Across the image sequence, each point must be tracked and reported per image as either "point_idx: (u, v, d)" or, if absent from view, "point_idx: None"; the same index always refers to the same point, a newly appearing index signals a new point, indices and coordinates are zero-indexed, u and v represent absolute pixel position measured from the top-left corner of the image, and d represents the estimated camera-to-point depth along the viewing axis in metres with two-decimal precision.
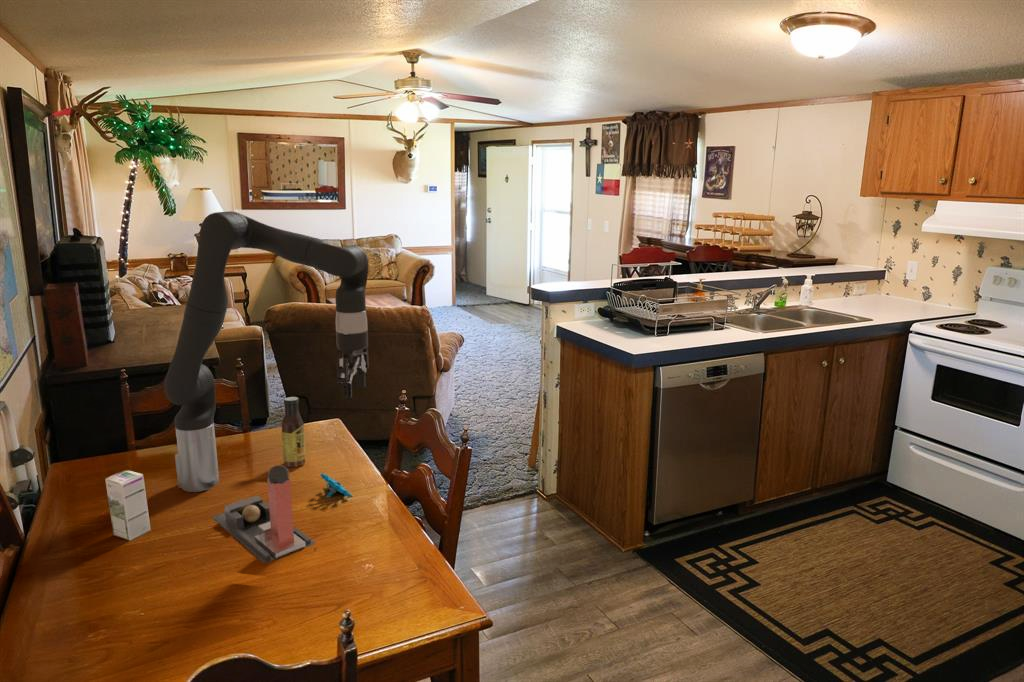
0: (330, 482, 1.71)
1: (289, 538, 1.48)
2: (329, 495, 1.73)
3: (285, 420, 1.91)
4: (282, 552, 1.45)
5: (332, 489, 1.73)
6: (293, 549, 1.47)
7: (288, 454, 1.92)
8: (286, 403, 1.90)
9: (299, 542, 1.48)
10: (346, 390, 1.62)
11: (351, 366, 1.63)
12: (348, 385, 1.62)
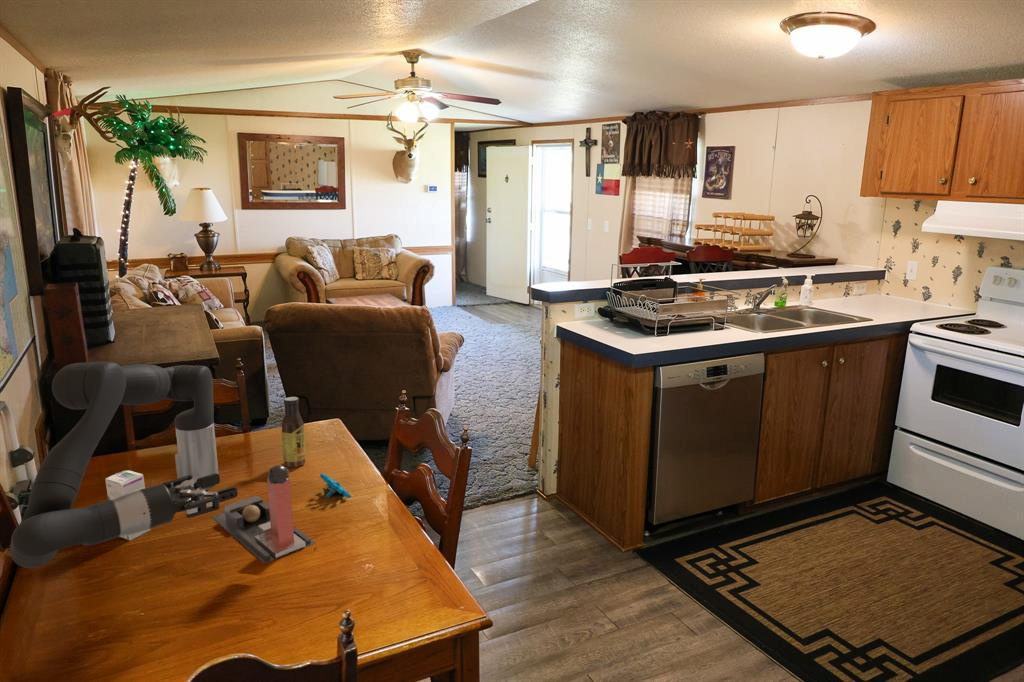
0: (329, 482, 1.70)
1: (289, 538, 1.48)
2: (328, 495, 1.73)
3: (285, 420, 1.91)
4: (282, 552, 1.45)
5: (331, 489, 1.73)
6: (293, 549, 1.47)
7: (288, 454, 1.92)
8: (286, 403, 1.90)
9: (299, 542, 1.48)
10: None
11: None
12: None
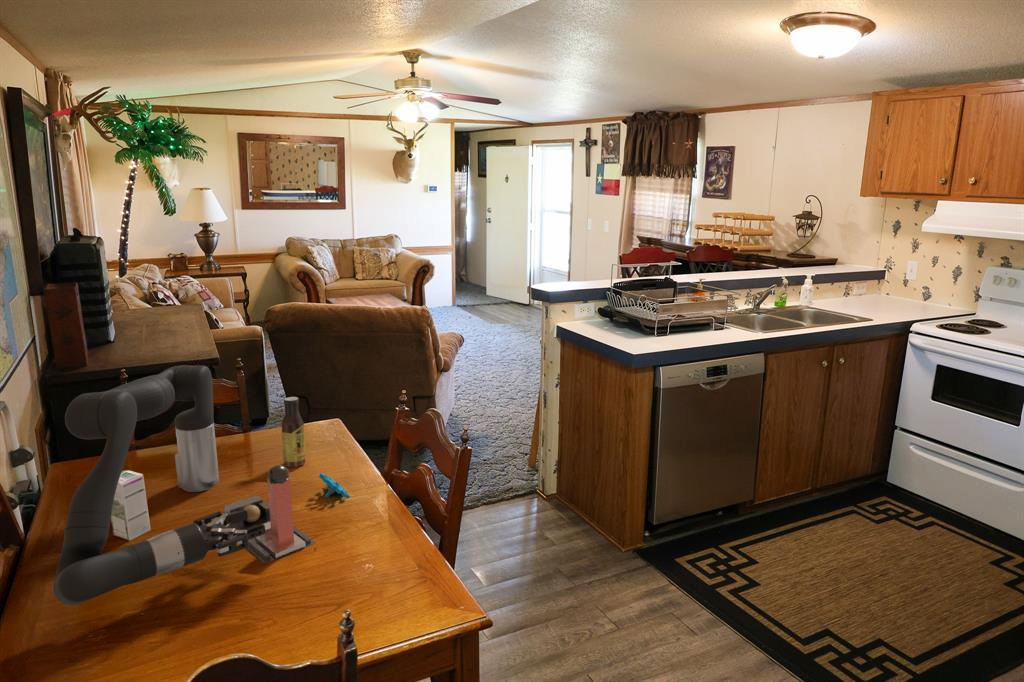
0: (328, 482, 1.70)
1: (289, 538, 1.48)
2: (327, 495, 1.73)
3: (285, 420, 1.91)
4: (282, 552, 1.45)
5: (330, 489, 1.73)
6: (293, 549, 1.47)
7: (288, 454, 1.92)
8: (286, 403, 1.90)
9: (299, 542, 1.48)
10: None
11: None
12: None
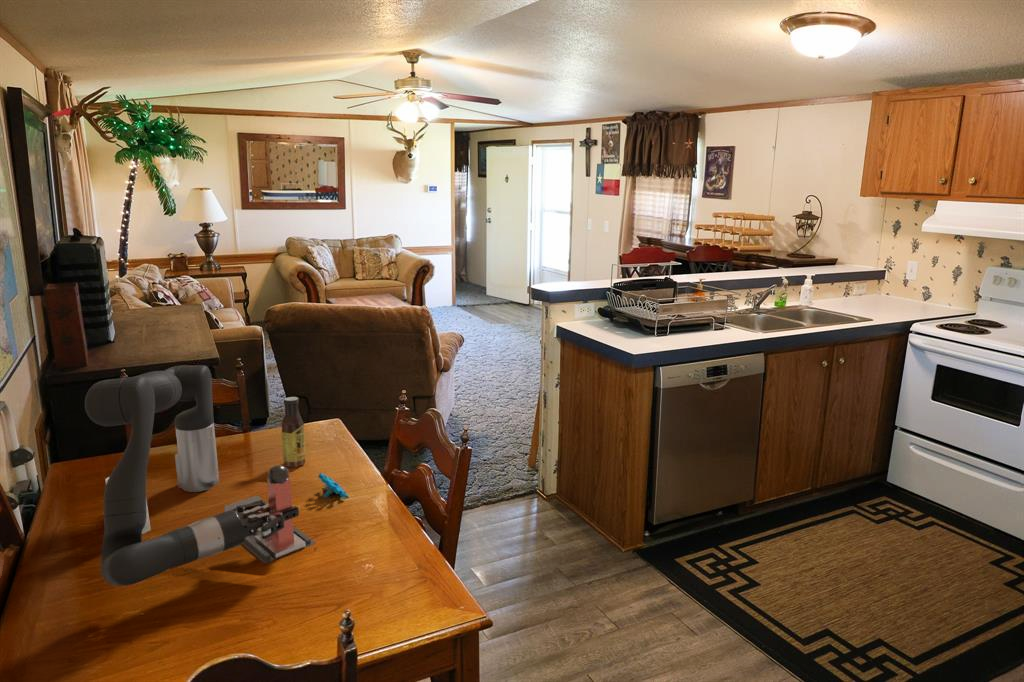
0: (326, 482, 1.70)
1: (289, 538, 1.48)
2: (326, 495, 1.72)
3: (285, 420, 1.91)
4: (282, 552, 1.45)
5: (329, 489, 1.73)
6: (293, 549, 1.47)
7: (288, 454, 1.92)
8: (286, 403, 1.90)
9: (299, 542, 1.48)
10: None
11: None
12: None
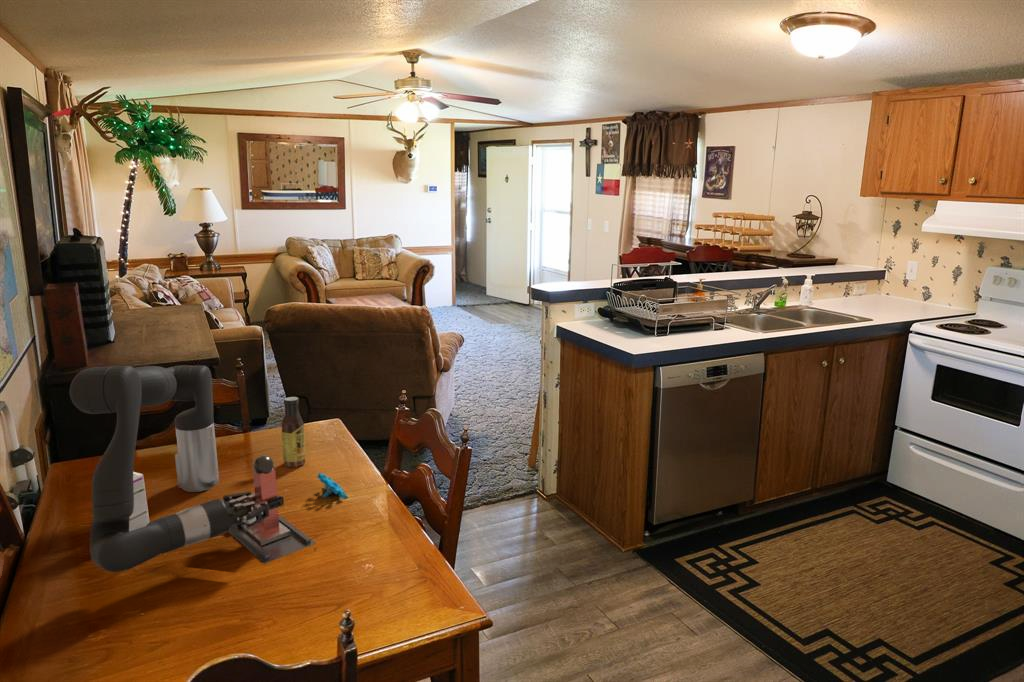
0: (325, 482, 1.70)
1: (274, 527, 1.52)
2: (325, 495, 1.72)
3: (285, 420, 1.91)
4: (267, 540, 1.50)
5: (328, 489, 1.73)
6: (278, 537, 1.51)
7: (288, 454, 1.92)
8: (286, 403, 1.90)
9: (284, 531, 1.53)
10: None
11: None
12: None
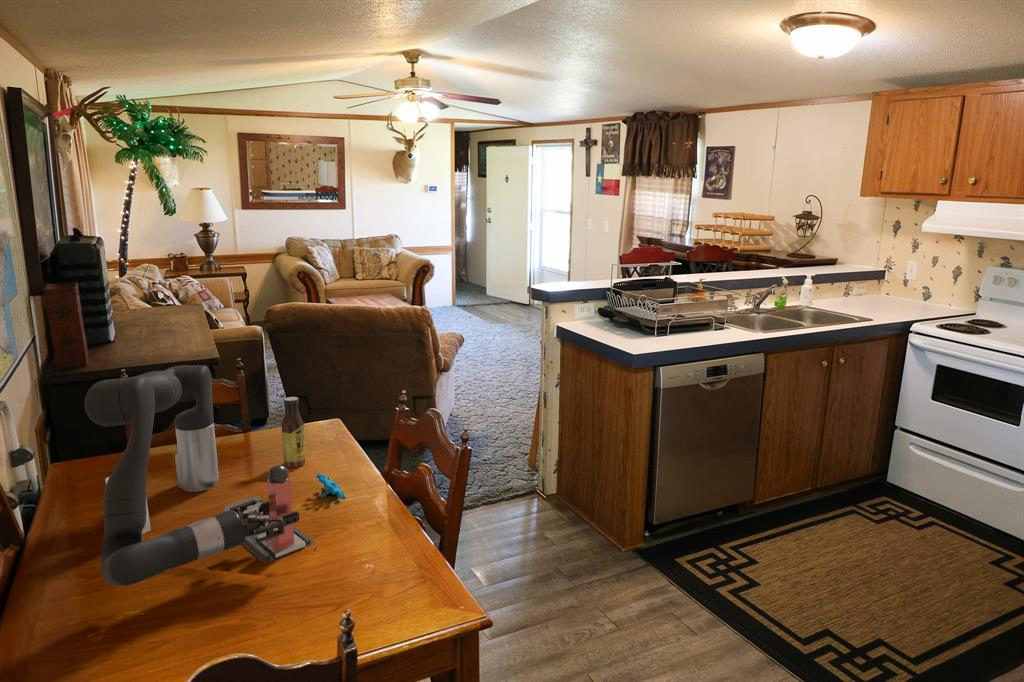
0: (324, 482, 1.70)
1: (289, 538, 1.48)
2: (323, 495, 1.72)
3: (285, 420, 1.91)
4: (282, 552, 1.45)
5: (327, 489, 1.72)
6: (293, 549, 1.47)
7: (288, 454, 1.92)
8: (286, 403, 1.90)
9: (299, 542, 1.48)
10: None
11: None
12: None
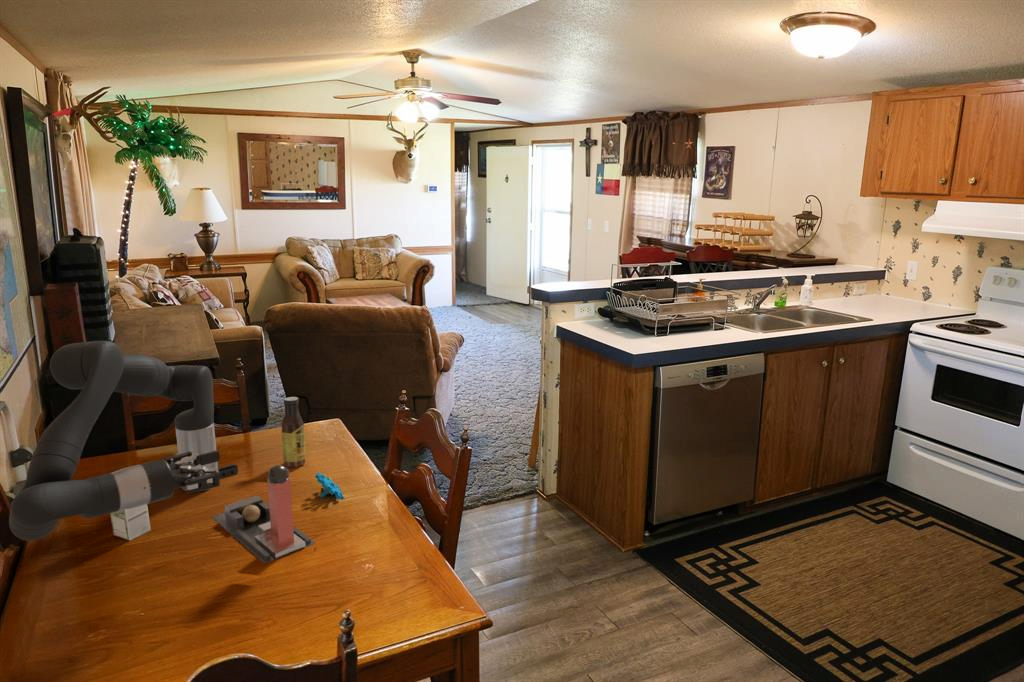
0: (322, 482, 1.70)
1: (289, 538, 1.48)
2: (322, 495, 1.72)
3: (285, 420, 1.91)
4: (282, 552, 1.45)
5: (325, 489, 1.72)
6: (293, 549, 1.47)
7: (288, 454, 1.92)
8: (286, 403, 1.90)
9: (299, 542, 1.48)
10: None
11: None
12: None
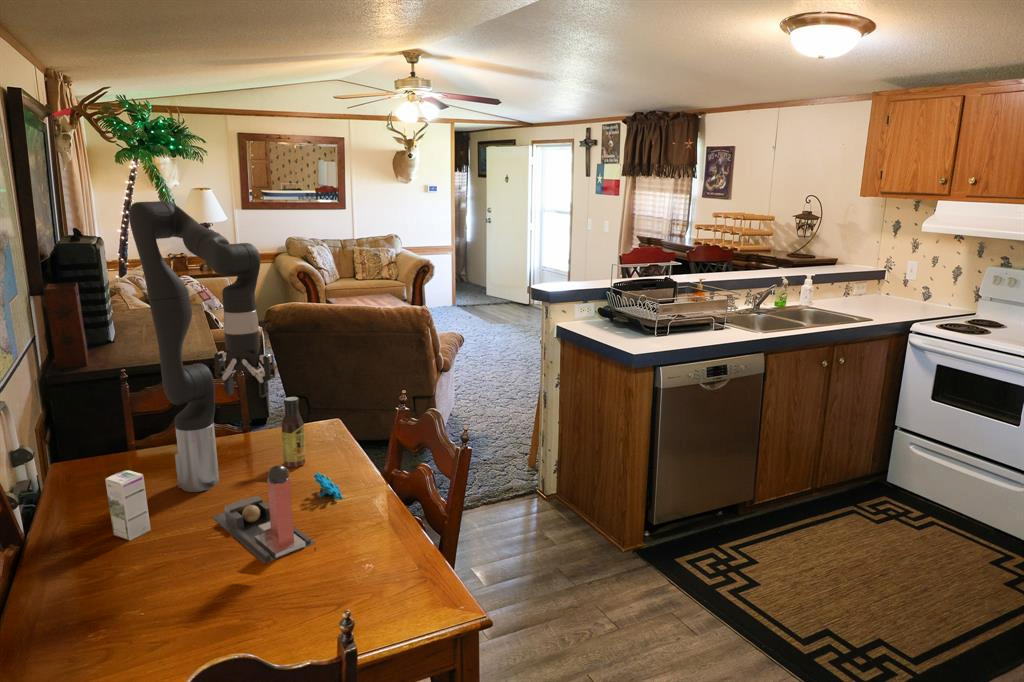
0: (321, 482, 1.70)
1: (289, 538, 1.48)
2: (321, 495, 1.72)
3: (285, 420, 1.91)
4: (282, 552, 1.45)
5: (324, 489, 1.72)
6: (293, 549, 1.47)
7: (288, 454, 1.92)
8: (286, 403, 1.90)
9: (299, 542, 1.48)
10: None
11: None
12: (225, 381, 1.61)
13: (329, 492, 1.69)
